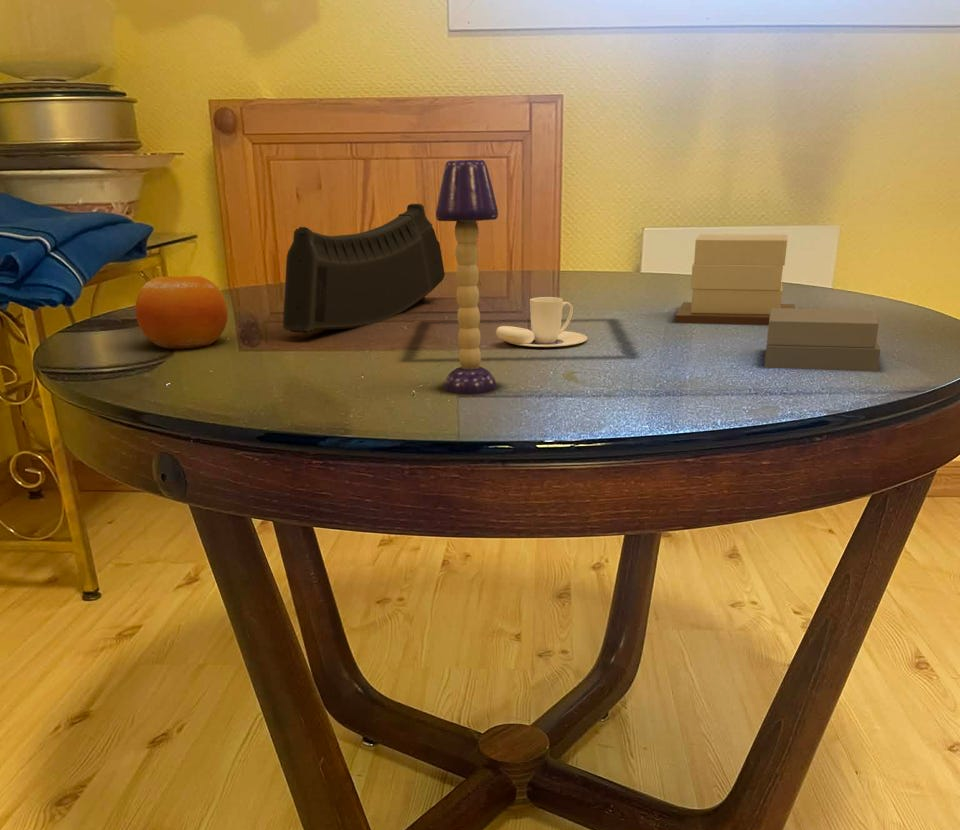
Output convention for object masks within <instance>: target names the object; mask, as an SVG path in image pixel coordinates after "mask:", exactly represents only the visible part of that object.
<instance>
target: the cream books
mask: <svg viewBox="0 0 960 830" xmlns="http://www.w3.org/2000/svg"><path fill="white" fill-rule="evenodd" d="M783 269H784V266H776V265H694V263H693V264H692V268H691V278H690V279H691V280H690V289H691V290H692V293H691V294H692V295H691V301H683V302H682V304H681V305H680V307H679V309H678V310H677V312H676V313H675V315H674V323H675V324H708V325H709V324H710V325H711V324H712V325H748V326H749V325H753V326H769V317H770V309H771V308H794V309H795V304H794V303H782V299H783V286H784V285H783V282H782V278H783Z"/></svg>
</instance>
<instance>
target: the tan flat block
mask: <svg viewBox="0 0 960 830" xmlns="http://www.w3.org/2000/svg"><path fill="white" fill-rule="evenodd" d="M787 247H788V234H744V233H743V234H740V233H739V234H731V233H730V234H729V233H728V234H726V233H725V234H724V233H723V234H720V233H718V234H715V233H714V234H711V233H709V234H705V233H703V234H702V233H700V234H699V235H698V236H697V238H696V239H695V245H694V259H693V260H694V261H693V264H694V265H776V266H783V267H784V266H785V265H786V257H787V249H788V248H787Z"/></svg>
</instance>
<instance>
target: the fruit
mask: <svg viewBox="0 0 960 830" xmlns="http://www.w3.org/2000/svg"><path fill="white" fill-rule="evenodd" d="M134 309H135V310H134V313H135V318H136V322H137V324H138V327H139V328H140V330H141V332H142V333H143V335H144V336H146V338H147V339H148V340H149V341H150V342H152V343H153V345H156V346H158V347H160V348H162V349H167V350H168V349H169V350H185V349H197V348H202V347H209V346H211V345H212V344H214V343H215V342H216V341H218V339H219V338H220V336H221V335H222V334H223V332H224V330H225V328H226V325H227V321H228V307H227V302H226V299H225V296H224V294H223V292H222V291H221V289H220V288H219V287H218V285H216V284H215V283H214V282H213V281H211V280H210V279H208V278H206V277H204V276H200V275H188V276H172V275H171V276H169V275H168V276H156V277H153V278H152V279H150V280H148V281H147V282H146V283H145V284H144V285H142V286H141V289H140V290H139V292H138V293H137V297H136V301H135V308H134Z"/></svg>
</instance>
